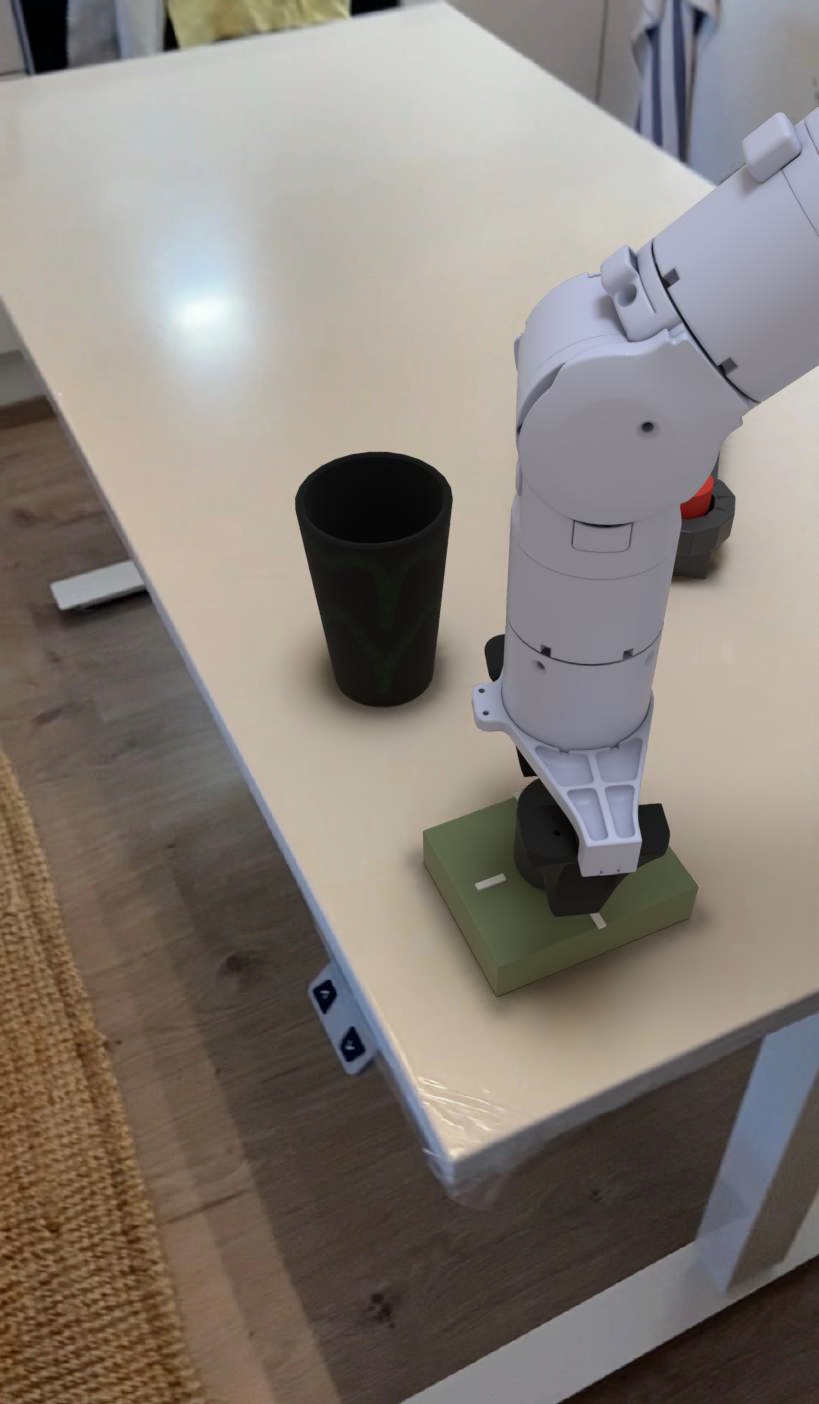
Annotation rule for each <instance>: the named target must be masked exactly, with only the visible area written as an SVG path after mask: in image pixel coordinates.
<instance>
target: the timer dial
mask: <svg viewBox="0 0 819 1404" xmlns="http://www.w3.org/2000/svg"><path fill="white" fill-rule="evenodd" d="M554 804H558V803H557V802H556V801H555V799H554V798H553V796H552V795H551V794H550V792H549V791H548V789H547V788H546V787H545V785H544V784H543V783H542V781H541V780H540V778H539V777H538V778H536V779H534V780H533V781H530V783H529V784H527V785H526V786H525V787H524V788H523V789H522V791H521V794H520V796H519V799H518V802H517V808H520V807H531V806H542V805H554ZM514 861H515V864H516V867H517V869H518V871H519V873H520V874H521V875H522V876H523V878H524V879H525V880H526V881H528V882H529V883H530V884H532V885H533V886H535V887H537V888H539V889H541V890H544V891H546V890H545V885H544V878H543V875H542V874H541V873H540V871H538V870H537V869H535V868H533V867H532V866H531V865H530V863H529V861H528V859H527V856H526V854H525V852H524V849H523V846H522V841H521V836H520V831H519V825H518V820H517V815H516V828H515V844H514Z"/></svg>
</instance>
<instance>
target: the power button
mask: <svg viewBox="0 0 819 1404" xmlns="http://www.w3.org/2000/svg"><path fill="white" fill-rule="evenodd" d="M713 485H714V481H713V478H712V476H711V475H710V476H709V477H708V479H707V481H706V482H705V483H704V485H703V486H702V487H701V488H700V490H699V491H698V492H697V493H696V494H695V495H694V496H693V497H692V498H691V499H690V500H688V501H687V502H684V503H681V505H680V511H681V519H687V520H690V519H694V518H698V517H702V516H704V515H705V514H706V513H707V511H708V509H709V505H710V500H711V495H712V490H713Z"/></svg>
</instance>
